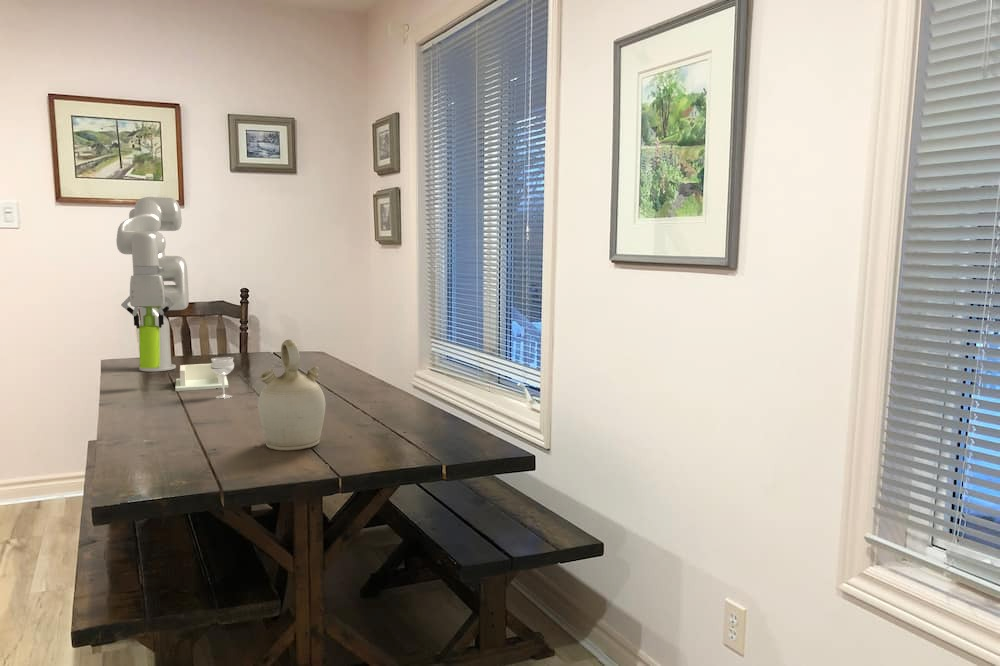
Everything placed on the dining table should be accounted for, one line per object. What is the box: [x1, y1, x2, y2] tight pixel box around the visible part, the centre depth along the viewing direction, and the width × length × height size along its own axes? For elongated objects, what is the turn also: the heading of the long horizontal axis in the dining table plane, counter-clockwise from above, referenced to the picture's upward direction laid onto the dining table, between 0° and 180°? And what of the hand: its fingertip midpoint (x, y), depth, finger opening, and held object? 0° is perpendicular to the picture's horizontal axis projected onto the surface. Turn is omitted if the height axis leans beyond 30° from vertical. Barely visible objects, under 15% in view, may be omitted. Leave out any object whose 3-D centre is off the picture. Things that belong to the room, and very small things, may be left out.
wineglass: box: [210, 356, 235, 399], centre depth 229 cm, size 7×7×12 cm
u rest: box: [174, 363, 229, 392], centre depth 250 cm, size 18×16×6 cm
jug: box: [257, 339, 327, 452], centre depth 175 cm, size 15×16×25 cm
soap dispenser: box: [138, 307, 162, 368], centre depth 241 cm, size 6×7×20 cm
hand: (149, 327), depth 240 cm, fingers closed on soap dispenser, 5 cm apart
